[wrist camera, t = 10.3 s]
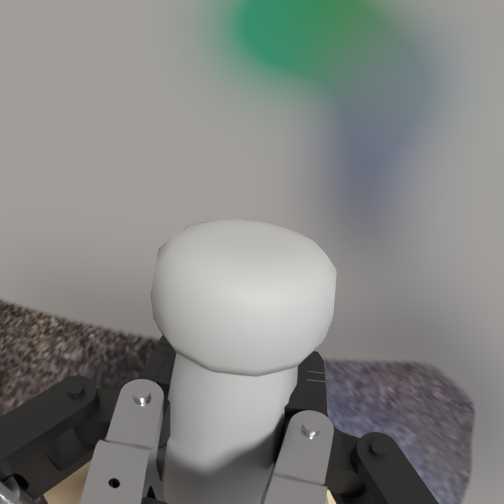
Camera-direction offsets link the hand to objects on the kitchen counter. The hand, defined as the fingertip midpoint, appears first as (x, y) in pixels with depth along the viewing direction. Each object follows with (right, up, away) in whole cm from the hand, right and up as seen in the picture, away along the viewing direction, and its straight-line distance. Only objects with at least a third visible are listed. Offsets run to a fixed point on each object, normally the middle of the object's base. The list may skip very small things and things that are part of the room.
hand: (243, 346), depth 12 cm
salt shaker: (-1, -8, 0) cm, 8 cm away
